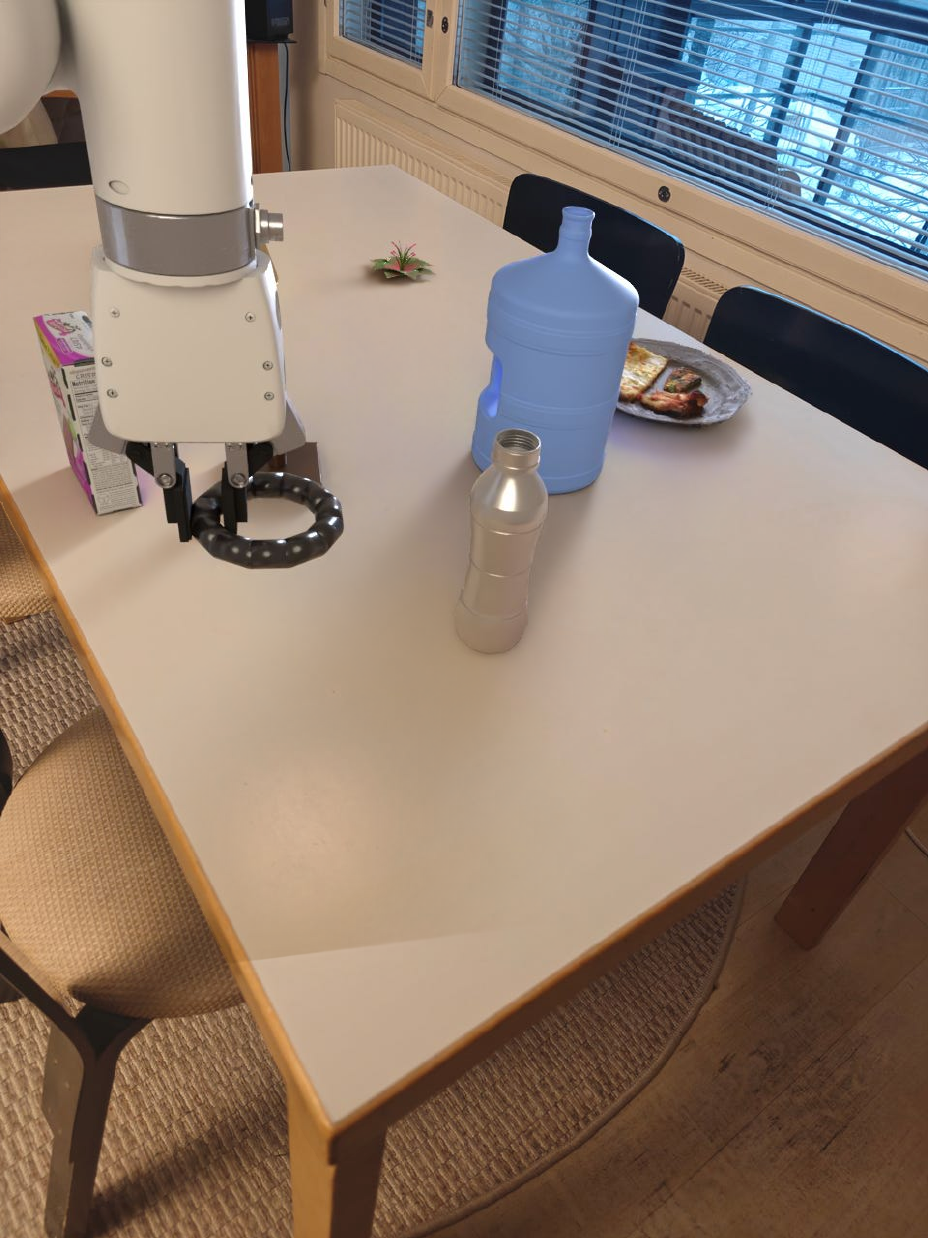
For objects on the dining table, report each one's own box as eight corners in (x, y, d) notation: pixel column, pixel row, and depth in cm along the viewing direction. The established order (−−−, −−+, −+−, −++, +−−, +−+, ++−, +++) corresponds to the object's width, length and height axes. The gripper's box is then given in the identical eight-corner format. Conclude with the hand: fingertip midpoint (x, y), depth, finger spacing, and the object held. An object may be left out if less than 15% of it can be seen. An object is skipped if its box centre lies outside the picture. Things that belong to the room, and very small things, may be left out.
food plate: (703, 455, 107) (711, 430, 105) (541, 395, 115) (545, 371, 113) (764, 388, 124) (772, 365, 121) (618, 340, 132) (623, 318, 130)
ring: (188, 576, 52) (185, 552, 51) (196, 489, 59) (193, 466, 58) (348, 572, 54) (348, 549, 53) (337, 489, 61) (337, 467, 60)
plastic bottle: (444, 653, 75) (466, 453, 62) (462, 606, 81) (486, 412, 68) (515, 670, 75) (552, 471, 62) (529, 621, 80) (566, 428, 67)
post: (235, 498, 90) (225, 397, 83) (236, 454, 97) (227, 357, 90) (321, 496, 92) (320, 398, 85) (317, 453, 99) (315, 358, 91)
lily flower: (380, 286, 140) (381, 257, 137) (357, 260, 148) (357, 232, 145) (448, 282, 144) (450, 254, 141) (422, 257, 152) (423, 230, 149)
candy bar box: (66, 464, 92) (30, 314, 81) (114, 455, 94) (85, 307, 84) (94, 519, 85) (58, 363, 75) (145, 507, 88) (117, 354, 77)
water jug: (622, 458, 105) (682, 214, 86) (563, 514, 94) (618, 250, 76) (511, 416, 110) (546, 179, 92) (444, 465, 99) (468, 207, 81)
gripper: (333, 217, 48) (330, 496, 60) (23, 199, 45) (85, 498, 57) (343, 265, 42) (338, 562, 54) (-9, 248, 39) (67, 568, 51)
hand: (209, 527), depth 55 cm, fingers closed on ring, 2 cm apart
